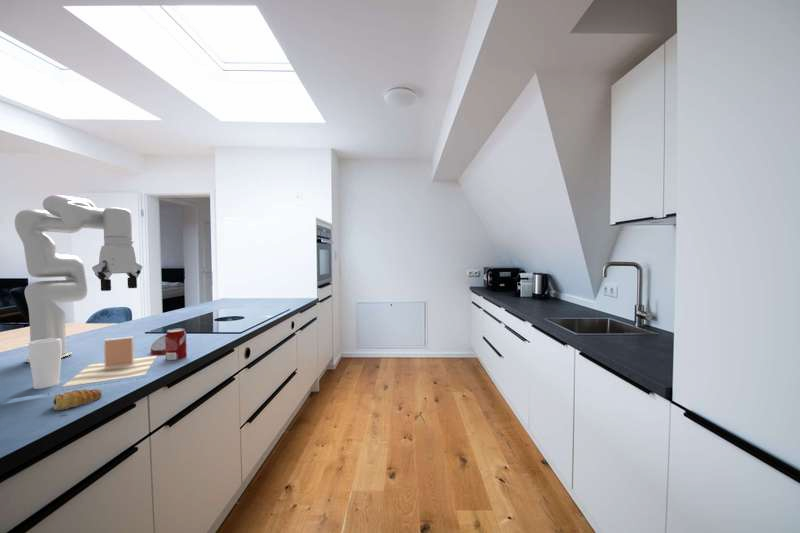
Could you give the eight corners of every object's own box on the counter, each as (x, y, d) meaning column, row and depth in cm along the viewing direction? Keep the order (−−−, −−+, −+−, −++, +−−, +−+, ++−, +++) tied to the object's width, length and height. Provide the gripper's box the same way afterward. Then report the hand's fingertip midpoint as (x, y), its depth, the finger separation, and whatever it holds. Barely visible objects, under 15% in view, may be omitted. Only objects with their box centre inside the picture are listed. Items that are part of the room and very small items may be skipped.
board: (89, 367, 114) (89, 364, 114) (157, 358, 125) (157, 355, 124) (61, 390, 94) (61, 387, 94) (145, 377, 104) (145, 374, 104)
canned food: (180, 363, 132) (185, 344, 130) (150, 366, 125) (155, 347, 122) (175, 346, 139) (180, 328, 137) (146, 349, 132) (151, 330, 129)
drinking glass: (32, 394, 91) (30, 344, 91) (27, 389, 95) (26, 341, 94) (65, 386, 97) (64, 339, 96) (60, 382, 100) (58, 336, 100)
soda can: (175, 363, 118) (175, 332, 118) (161, 362, 119) (160, 331, 119) (191, 357, 125) (190, 328, 124) (177, 356, 126) (176, 327, 126)
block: (106, 366, 112) (105, 339, 112) (134, 362, 116) (133, 336, 116) (104, 368, 110) (103, 340, 110) (133, 364, 115) (132, 337, 114)
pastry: (98, 394, 91) (98, 381, 91) (104, 400, 88) (104, 387, 87) (51, 406, 84) (50, 393, 84) (55, 414, 80) (55, 399, 80)
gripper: (131, 243, 120) (132, 287, 121) (82, 241, 103) (84, 291, 103) (149, 243, 120) (150, 287, 120) (103, 240, 102) (104, 291, 103)
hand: (119, 289), depth 112 cm, fingers open, 9 cm apart
